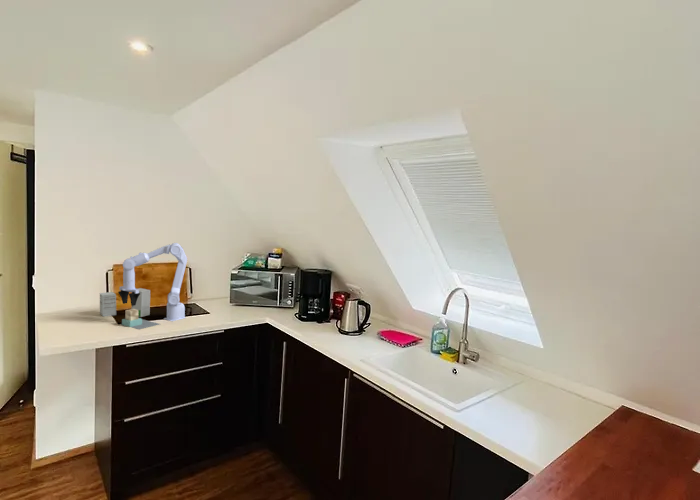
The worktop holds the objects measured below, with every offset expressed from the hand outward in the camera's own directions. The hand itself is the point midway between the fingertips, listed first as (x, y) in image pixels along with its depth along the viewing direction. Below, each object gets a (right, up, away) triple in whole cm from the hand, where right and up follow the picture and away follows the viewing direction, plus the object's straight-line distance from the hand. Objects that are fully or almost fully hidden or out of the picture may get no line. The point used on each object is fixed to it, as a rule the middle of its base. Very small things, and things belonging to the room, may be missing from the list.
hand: (129, 304), depth 235 cm
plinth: (+4, -10, -5) cm, 12 cm away
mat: (+8, -11, -4) cm, 14 cm away
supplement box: (-20, -8, +14) cm, 25 cm away
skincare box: (-1, -9, +15) cm, 17 cm away
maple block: (+4, -7, -5) cm, 10 cm away
